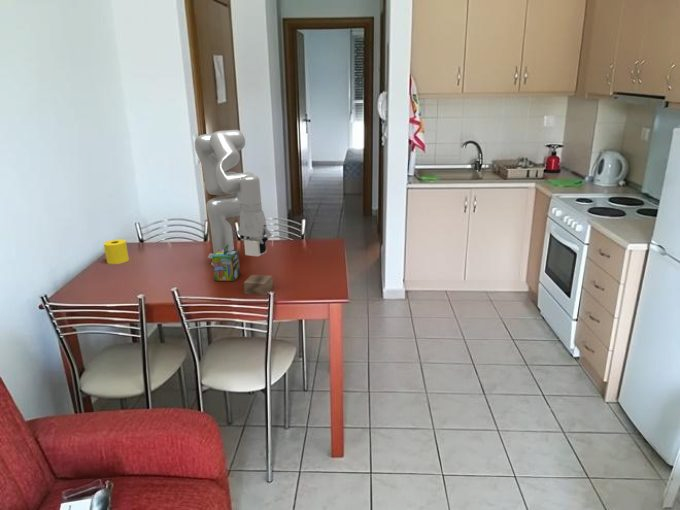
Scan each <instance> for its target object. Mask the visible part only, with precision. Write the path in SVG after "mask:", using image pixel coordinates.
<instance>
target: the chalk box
mask: <svg viewBox="0 0 680 510" xmlns="http://www.w3.org/2000/svg"><path fill="white" fill-rule="evenodd" d="M226 248H227V249H226ZM213 254H214V253H213ZM212 259H213V266H212V267H213V277H214V281H216V282H218V281H219V282H235V281H236V280H237V278H238V277H240V275H241V268H240V267H241V266H240V253H239V250H238V249H234V250H228V245H227V246H226V247H225V249H224V250H218V251H217V252H216V253H215V254H214V255H213V256H212ZM212 259H211V260H212Z"/></svg>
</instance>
